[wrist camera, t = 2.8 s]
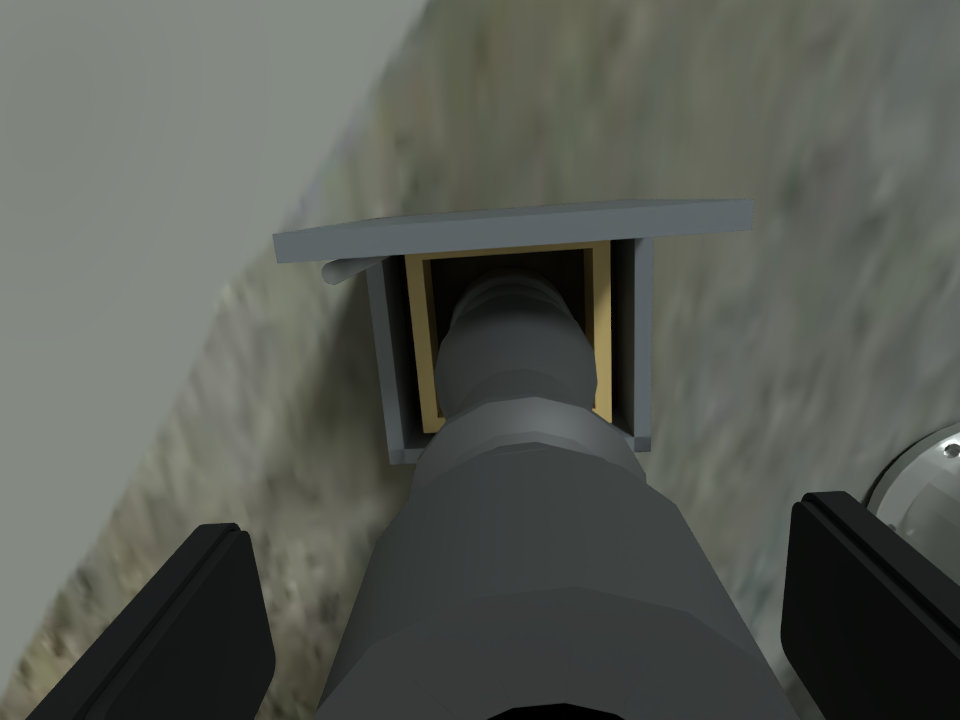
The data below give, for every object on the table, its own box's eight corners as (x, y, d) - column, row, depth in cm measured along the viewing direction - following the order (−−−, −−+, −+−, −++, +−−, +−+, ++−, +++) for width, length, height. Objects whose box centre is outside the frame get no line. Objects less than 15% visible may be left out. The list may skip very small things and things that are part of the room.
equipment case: (632, 199, 28) (753, 199, 15) (632, 420, 32) (731, 585, 18) (377, 218, 29) (272, 234, 15) (403, 433, 32) (334, 601, 19)
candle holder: (588, 296, 30) (968, 706, 6) (536, 396, 31) (658, 1042, 7) (482, 246, 29) (406, 463, 5) (434, 350, 31) (207, 884, 7)
